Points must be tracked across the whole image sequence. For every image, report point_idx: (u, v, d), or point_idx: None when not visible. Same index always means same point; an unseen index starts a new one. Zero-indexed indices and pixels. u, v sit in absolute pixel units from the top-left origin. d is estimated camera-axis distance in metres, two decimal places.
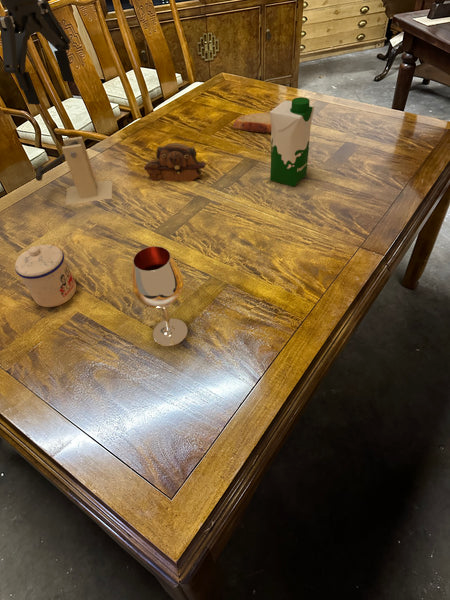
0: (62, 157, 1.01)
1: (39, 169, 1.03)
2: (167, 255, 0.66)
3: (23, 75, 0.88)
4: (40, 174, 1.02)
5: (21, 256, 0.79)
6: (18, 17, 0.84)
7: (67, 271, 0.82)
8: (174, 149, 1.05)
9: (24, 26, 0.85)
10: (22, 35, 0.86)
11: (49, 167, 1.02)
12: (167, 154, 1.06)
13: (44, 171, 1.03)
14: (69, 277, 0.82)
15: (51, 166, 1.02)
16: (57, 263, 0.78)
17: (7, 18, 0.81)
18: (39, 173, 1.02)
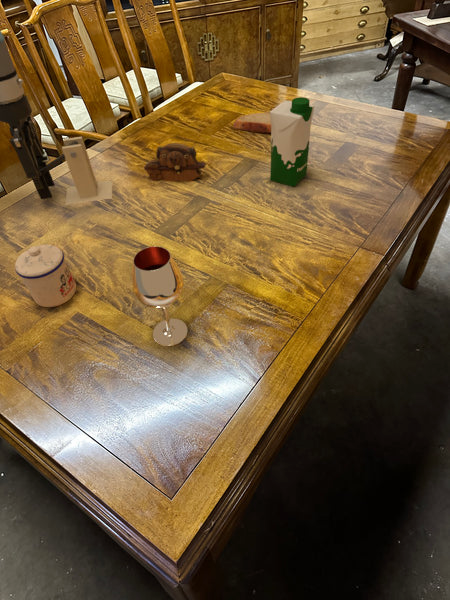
0: (62, 157, 1.01)
1: None
2: (167, 255, 0.66)
3: (39, 177, 1.00)
4: None
5: (21, 256, 0.79)
6: (21, 130, 0.92)
7: (67, 271, 0.82)
8: (174, 149, 1.05)
9: (27, 137, 0.95)
10: (28, 145, 0.95)
11: (49, 167, 1.02)
12: (167, 154, 1.06)
13: (44, 171, 1.03)
14: (69, 277, 0.82)
15: (51, 166, 1.02)
16: (57, 263, 0.78)
17: (21, 140, 0.91)
18: None
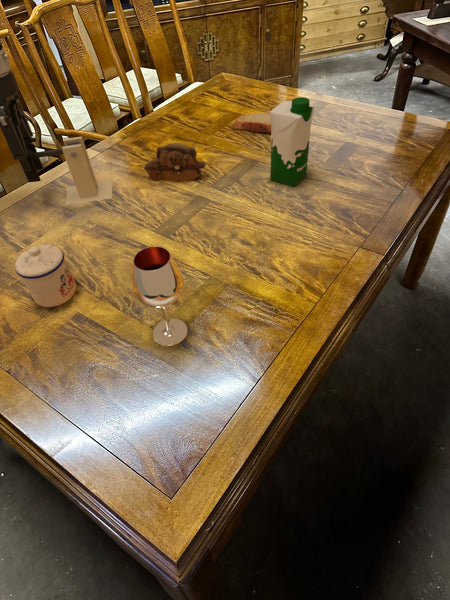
0: (59, 151, 1.00)
1: (28, 152, 1.00)
2: (167, 255, 0.66)
3: (27, 158, 0.97)
4: None
5: (21, 256, 0.79)
6: (8, 108, 0.89)
7: (67, 271, 0.82)
8: (174, 149, 1.05)
9: (13, 116, 0.91)
10: (15, 124, 0.92)
11: (40, 155, 1.00)
12: (167, 154, 1.06)
13: (34, 156, 1.00)
14: (69, 277, 0.82)
15: (43, 155, 1.00)
16: (57, 263, 0.78)
17: (7, 118, 0.87)
18: None
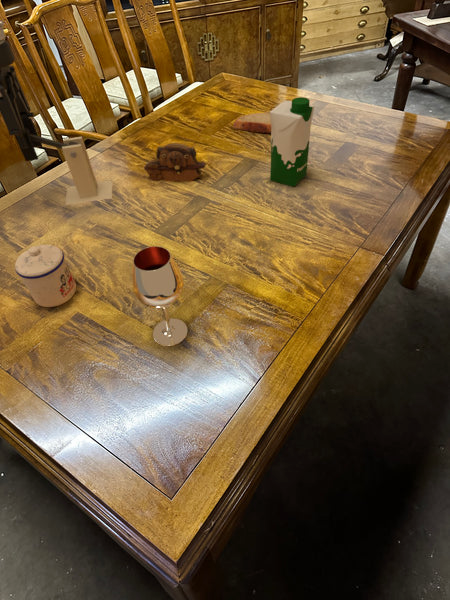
0: (59, 145, 0.99)
1: None
2: (167, 255, 0.66)
3: (24, 134, 0.92)
4: None
5: (21, 256, 0.79)
6: (3, 79, 0.85)
7: (67, 271, 0.82)
8: (174, 149, 1.05)
9: (9, 88, 0.87)
10: (11, 97, 0.88)
11: (38, 140, 0.97)
12: (167, 154, 1.06)
13: (31, 138, 0.97)
14: (69, 277, 0.82)
15: (41, 141, 0.97)
16: (57, 263, 0.78)
17: (2, 88, 0.83)
18: None
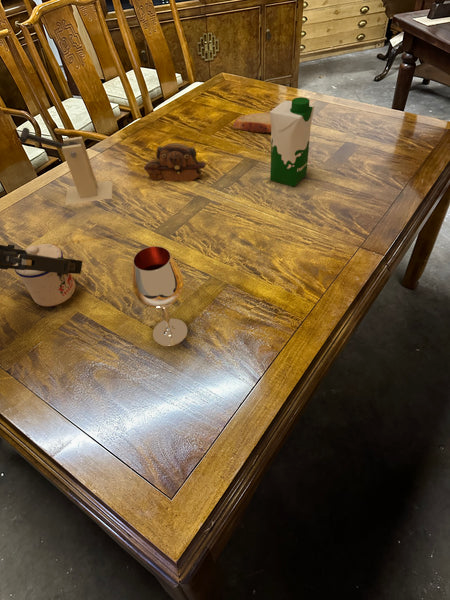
0: (59, 145, 0.99)
1: (26, 132, 0.96)
2: (167, 255, 0.66)
3: None
4: (26, 138, 0.95)
5: None
6: None
7: None
8: (174, 149, 1.05)
9: None
10: None
11: (38, 140, 0.97)
12: (167, 154, 1.06)
13: (31, 138, 0.97)
14: (68, 276, 0.83)
15: (41, 141, 0.97)
16: None
17: None
18: (26, 136, 0.95)
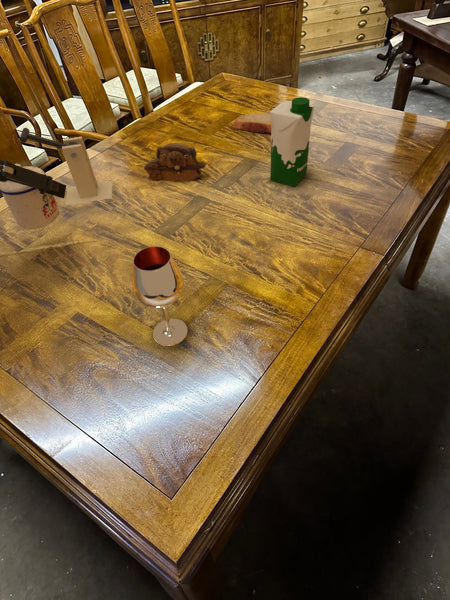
0: (59, 145, 0.99)
1: (26, 132, 0.96)
2: (167, 255, 0.66)
3: None
4: (26, 138, 0.95)
5: None
6: None
7: None
8: (174, 149, 1.05)
9: None
10: None
11: (38, 140, 0.97)
12: (167, 154, 1.06)
13: (31, 138, 0.97)
14: (52, 199, 0.83)
15: (41, 141, 0.97)
16: None
17: None
18: (26, 136, 0.95)
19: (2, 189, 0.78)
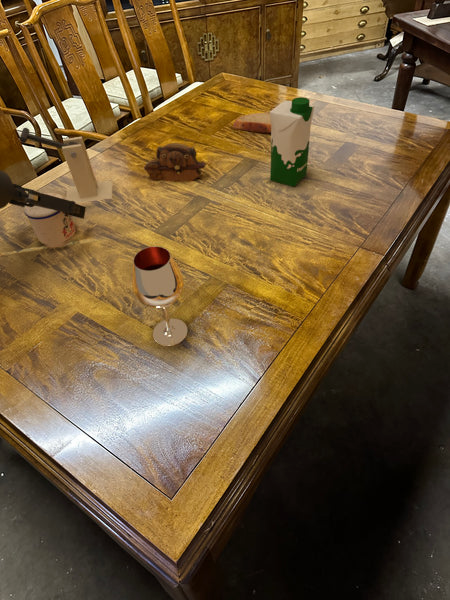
0: (59, 145, 0.99)
1: (26, 132, 0.96)
2: (167, 255, 0.66)
3: None
4: (26, 138, 0.95)
5: None
6: None
7: (69, 216, 0.95)
8: (174, 149, 1.05)
9: None
10: None
11: (38, 140, 0.97)
12: (167, 154, 1.06)
13: (31, 138, 0.97)
14: (70, 221, 0.96)
15: (41, 141, 0.97)
16: None
17: None
18: (26, 136, 0.95)
19: (29, 214, 0.90)
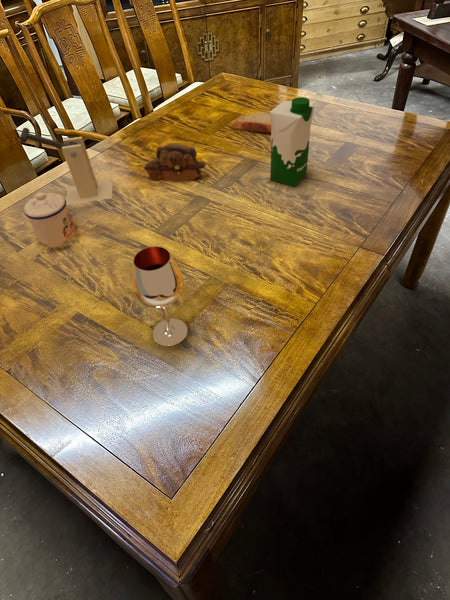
0: (59, 145, 0.99)
1: (26, 132, 0.96)
2: (167, 255, 0.66)
3: None
4: (26, 138, 0.95)
5: (29, 202, 0.92)
6: None
7: (69, 216, 0.95)
8: (174, 149, 1.05)
9: None
10: None
11: (38, 140, 0.97)
12: (167, 154, 1.06)
13: (31, 138, 0.97)
14: (70, 221, 0.96)
15: (41, 141, 0.97)
16: (60, 206, 0.91)
17: None
18: (26, 136, 0.95)
19: (29, 214, 0.90)
